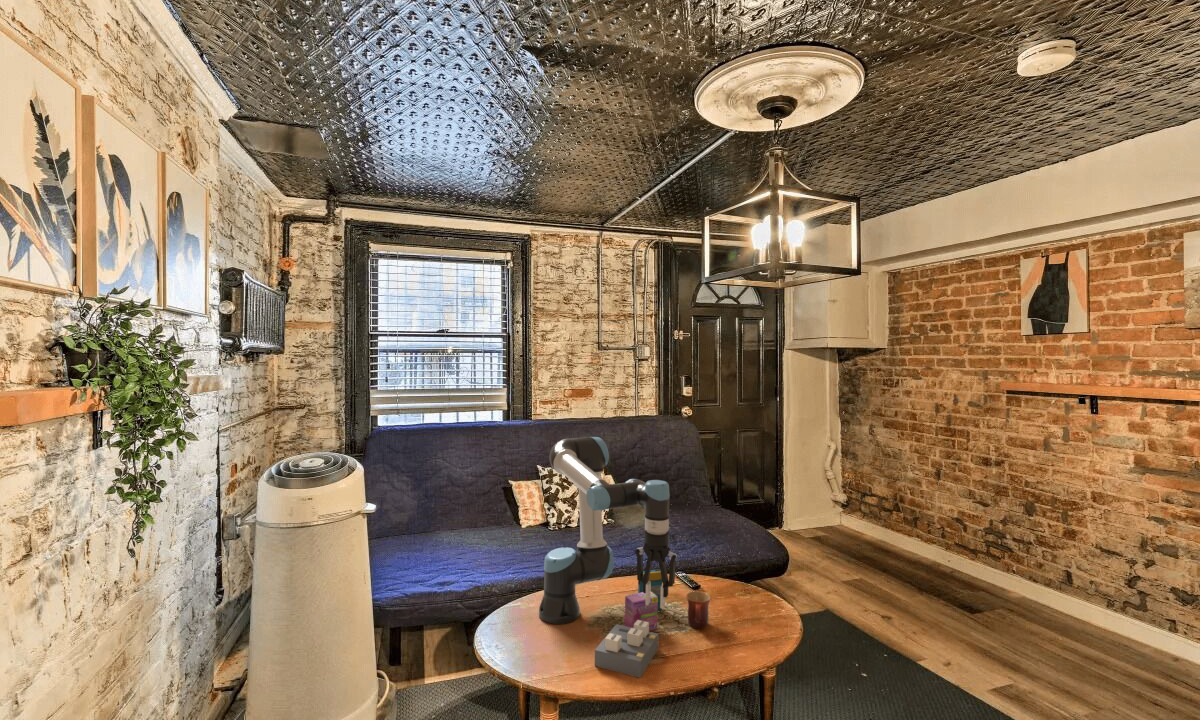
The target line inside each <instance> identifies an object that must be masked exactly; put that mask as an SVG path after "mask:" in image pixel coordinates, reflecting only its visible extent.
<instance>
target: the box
mask: <svg viewBox="0 0 1200 720" xmlns="http://www.w3.org/2000/svg"><path fill="white" fill-rule="evenodd" d="M624 597H625V598H624V626H627V627H631V628H634V624H635V622H636V621H637V620H641V621H642V620H643V621H645V622H649V632H651V631H654V630H657V629H658V612H657V605H658V596H656V595H655V594H654V593H652V592H651V599H650V603H649V605H645V604H646V593H643V592H641V593H638V592H637V593H633V594H628V595H625V596H624Z"/></svg>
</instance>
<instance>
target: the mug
mask: <svg viewBox="0 0 1200 720" xmlns="http://www.w3.org/2000/svg"><path fill="white" fill-rule="evenodd" d="M685 596H686V602H687V622H688V625H689V626H690V627H692V628H693V627H694V629H699V630H700V629H701V630H702V629H705V628H706V627H707V626H708V624H709V620H710V619H709V613H710V612H709V608H710V607H709V606H710V602H711V598H712V597H711V596H710V594H708V593H706V592H704V591H697V590H695V591H689V592H688V593H686V595H685Z"/></svg>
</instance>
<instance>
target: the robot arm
mask: <svg viewBox="0 0 1200 720" xmlns="http://www.w3.org/2000/svg"><path fill="white" fill-rule="evenodd" d="M609 453H610V452H609V448H608V446H607V443H606V442H605V440H603V439H602V438H601V437H598V436H584V437H574V438H570V437H569V438H564V439H561V440H559V441H557V442H556V443H555V444H554V445H553V446H552V447H551V449H550V452H549V456H548V458H549V463H550V466H551V468H552V469H553V470H554V471H555V472H556V473H558V474H559V475H564V476H565V477H566V478H567V479H568V480H569V481H571V482H572V483H573V484H574V485H575V486H576V487H577V488H578V508H579V509H578V510H579V531H580V539H579V541H578V542H577V544H576V550H575V549H574V548H572V547H558V548H557V547H556V548H554V549H552V550H550V551H548V552H547V554H546V555H545V557H544V563H543V574H544V575H543V596H542V598H541V602H540V604H539V608H538V617H539V619H540V620H542V621H543V622H544V623H548V624H552V625H553V624H554V625H564V624H570V623H573V622H575V621H576V620H577V619H578V618H580V613H581V609H580V604H579V601H578V598H577V594H576V586H577V585H579V584H584V583H589V582H594V581H595V582H596V581H600V580H604V579H606V578H608V577H610V576H611V574H612V572H613V570H614V566H615V558H614V554H613V550H612V548H611V547H610V546H608V542H607V541H606V540H605V539H604V535H603V514H602V512H603V511H606V510H612V509H613V510H614V509H619V508H626V507H632V506H640V507H642V508H644V544H643V546H641V547H640V546H638V547H637V548H636V549H635V550H634V553H635V555H636V579H637V581H638V580H639V581H642V582H643V593H646V604H645V605H649V603H650V599H651V582H650V581H648V580H649V575H650V571H651V570H652V567H653V566H652V565H653V562H657V563H658V566H659V570H660V572H661V577H662V586H661V596H660V608H662V610H663V608H664V607H665V605H666V598H668V596H669V587H673V585H674V584H675V581H676V580H675V579H676V562H677V561H676V560H677V558H678V556H679V554H678V553H677V552H673V551H671V549H670V548H669V535H670V534H669V532H668V531H670V525H669V524H670V498H671V497H670V495H671V494H670V485H669V482H667V481H665V480H660V479H650V480H647V481H646V482H645V481H643V480H642V479H638V478H630V479H628V480H626V481H625V482H620V483H613V484H612V483H611V484H610V483H608V482H607V481H606V479H604V478H602V477H601V475H602V474H603V473H604V467H605V466H607V465H608V463H609V460H610V454H609ZM644 554H645V555H646V557H647V558H646V565H645V570H644ZM666 557H668V559H669V568H668V569H669V570H667V564H666ZM643 571H645V573H644V576H643ZM668 573H669V574H668Z"/></svg>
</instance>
